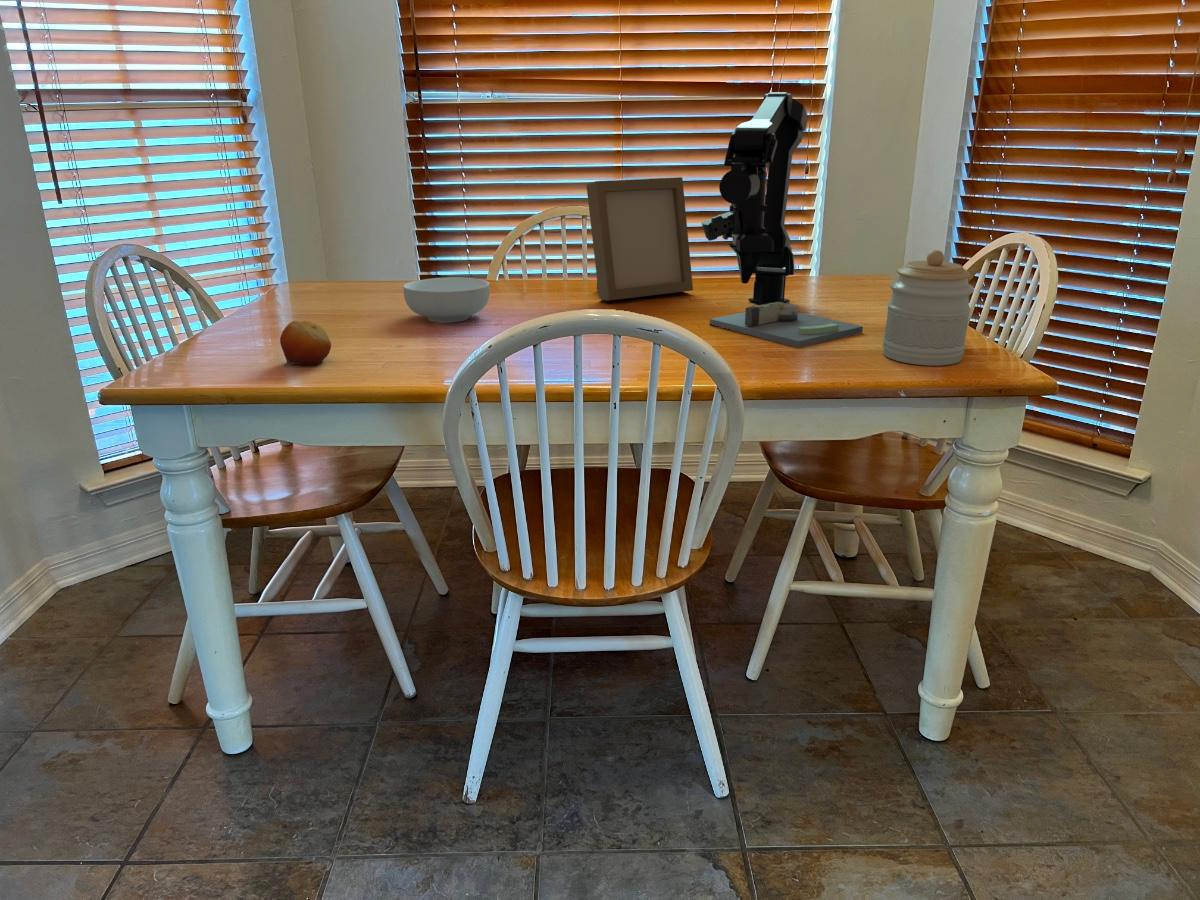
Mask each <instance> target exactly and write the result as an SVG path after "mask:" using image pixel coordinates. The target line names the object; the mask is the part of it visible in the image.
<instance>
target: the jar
mask: <svg viewBox="0 0 1200 900" xmlns="http://www.w3.org/2000/svg"><path fill="white" fill-rule="evenodd" d="M944 260H945V256H944V253H943V252H942V251H941V250H939V249H934V250H931V251H930V252H929V253H928V254H927V255H926V260H914V261H908V262H907V263H906V264H905V265H903V266H901V267H899V268H897V270H896V273H897V274H898V277H897V279H895V280H893V281H891V282H890V284H889V287H890V289H891V290H892V292H891V293H892V294H891V299H890V301H888V303H887V304H886V305H887V315H886V324H885V331H884V337H883V339H882V341H883V343H882V348H883V354H884V356H885V357H886V358H889V359H890V360H893V361H897V362H901V363H905V364H909V365H915V366H916V365H918V366H932V367H934V366H935V367H936V366H937V367H939V366H948V365H950V366H951V365H954V364H955V365H956V364H957V363H959V362H961V361H962V360H963V359H962V358H963V355H964V353H965V349H966V337H967V329H968V324H969V316H970V313H971V312H972V310H971V309H972V308H971V307H970V304H969V303H970V295H972V294H973V293H974V291H975V288H974V287H973V285H972V284H970V283H969V282H968V279H969V278H971V275H972V273H970V272H969V270H966V269H965V268H964V266H963V265H961V264H959V263H956V262H949V261H944Z"/></svg>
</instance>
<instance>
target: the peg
mask: <svg viewBox="0 0 1200 900" xmlns="http://www.w3.org/2000/svg"><path fill="white" fill-rule="evenodd" d="M745 312H746V313H745V325H748V326H755V325H760V324H765V323H770V322H775V321H794V320H797V318H798V312H799V305H798V304H795V303H790V302H786V303H783V302H774V303H769V304H759V305H754V306H749V307H745Z"/></svg>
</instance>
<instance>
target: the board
mask: <svg viewBox="0 0 1200 900" xmlns="http://www.w3.org/2000/svg"><path fill="white" fill-rule="evenodd" d="M745 313H746V311H743V312H738V313H734V314H728V315H722V316H718V317H714V318H713V317H712V318H710V319H709V325H710V324H712V325H715V326H714V327H716V326H719V327H718V328H720V327H723V328H726V329H725V330H727V329H730V330H729V331H731V330H734V331H733V332H735V331H737V332H736V333H739V332H741V333H740V334H743V333H744V334H743V335H746V334H748V335H747V336H750V335H751V337H754V336H755V337H754V338H759V339H762V340H766V341H770V342H773V341H774V342H775V343H777V342H778V344H781V345H786V346H790V347H794V348H796V349H800V348H803V347H807V346H812V345H816V344H819V343H824V342H828V341H833V340H837V339H841V338H846V337H850V336H853V335H859V334H862V333H863V330H864V325H859V324H853V323H851V322H846V321H842V320H836V319H831V318H827V317H824V316H817V315H813V314H809V313H804V312H800V311H798V318H797V320H794V321H775V322H770V323H765V324H760V325H755V326H748V325H745ZM712 325H711V326H712ZM723 328H722V329H723Z"/></svg>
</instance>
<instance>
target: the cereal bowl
mask: <svg viewBox="0 0 1200 900" xmlns="http://www.w3.org/2000/svg"><path fill="white" fill-rule="evenodd" d="M490 287H491V286H490V282H489V281H487V280H485V279H482V278H481V279H479V278H474V277H456V276H454V277H451V276H450V277H435V278H434V277H433V278H426V279H425V278H424V279H420V280H414V281H410V282H407V283H405V284H404V285H403V287H402V289H403V291H402V292H403V296H404V300H405V303H406V305H407V306H408V307H409V309H410V310H411V311H412V312H413V313H415V314H417V315H420V316H422V317H425V318H427V319H428V321H430V322H433V323H443V324H444V323H445V324H446V323H447V324H448V323H459V322H463V321H466V320H468V319H469V318H470V316H473V315H476V314H477V313H479V312H480V311H482V310H483V309H484V308H485V307H486V305H487V303H489V299H490V295H491V293H490V292H491V291H490V290H491V289H490Z"/></svg>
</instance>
